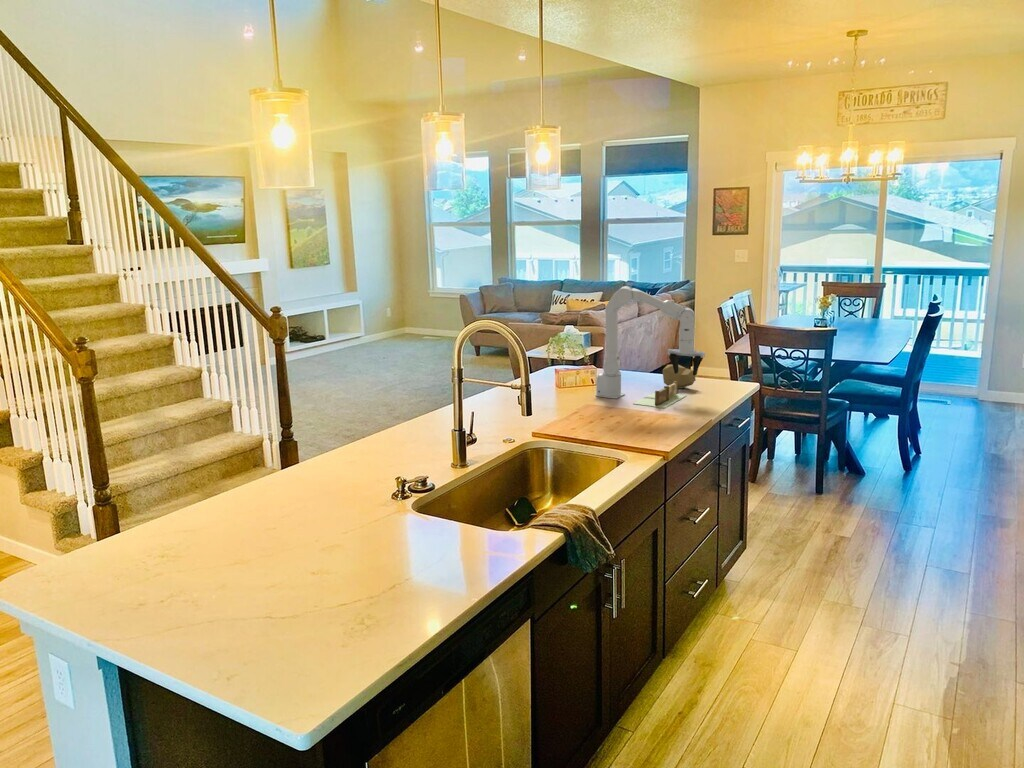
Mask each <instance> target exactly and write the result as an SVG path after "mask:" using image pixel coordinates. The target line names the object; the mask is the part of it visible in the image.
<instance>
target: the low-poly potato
mask: <svg viewBox="0 0 1024 768" xmlns="http://www.w3.org/2000/svg"><path fill="white" fill-rule="evenodd" d="M662 378H663V383H664V385H665V386H669V385H671V384H673V382H674V381H677V382H678V384H677V389H683V388H686V387H690V386H693V384H694V383H695V382H696V381H697V379H696V375H695V376H694V375H693V369H690V368H686V367H684V366H682V365H681V364H678V373H676V374H675V373H674V368H673V365H672V364H667V365H666V366H665V367H664V368H663V369H662Z"/></svg>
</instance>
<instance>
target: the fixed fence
mask: <svg viewBox="0 0 1024 768" xmlns="http://www.w3.org/2000/svg"><path fill="white" fill-rule="evenodd" d="M654 393H655V405H656V406H659V404H660V403H661V402H663V401H665V400H669V386H668V385H664V386H663V388H661V389H659V390H655V391H654Z"/></svg>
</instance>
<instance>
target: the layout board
mask: <svg viewBox="0 0 1024 768" xmlns="http://www.w3.org/2000/svg"><path fill="white" fill-rule="evenodd" d="M686 397H687V395H685V394H678V393H677V394H676V395H674V396H672V397H671V398H669V400H665V401H663V402H661V403H660V404H659V406H656V405H655V392H653V393H651V394H649V395H647V396H644V397H643V398H641V399H639V400H636V402H633V405H636V406H645V407H650V408H651V407H654V408H660V409H666V408H668V407H670V406H671V405H673V404H675V403H678V402H679V401H681V400H682V399H684V398H686Z"/></svg>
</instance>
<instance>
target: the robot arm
mask: <svg viewBox="0 0 1024 768" xmlns="http://www.w3.org/2000/svg"><path fill="white" fill-rule="evenodd" d="M630 302H632V303H638V302H639V303H640V302H642V303H645V304H646V305H649V306H652V307H655V308H657V309H659V311H660V312H661V314H663V315H665V316H667V317H670V318H671V319H673V320H678V321H679V329H678V331H679V334H678V349H677V348H676V349H675V348H674V349H673V348H669V349H667V355H668V359H669V360H670V362H671V365H673V368H674V373H675V374H676V373H678V365H679V362H680V357H681V356H682V357H683V356H687V357H692V365H693V366H692V367H693V368H692V370H693V375H694V376H695V377H696V376H697V374H698V370H699V367H700V365H701V364H702V361H703V359H704V358H705V357H706V351H698V350H695V320H696V317H695V316H696V315H695V311H694V310H693V309H692V308H691V307H687V306H686V305H682V304H681V305H680V304H679V303H677V302H675V300H674V299H670V300H669V299H666V300H662V299H660V298H657V297H655V296H653V295H651V294H649V293H647V292H644V290H643V291H642V290H640V289H638V288H635V287H631V286H629V285H624V286H621V287H620V288H618V290H616V291H615V292H614V293H613V295H612V296H611V298H610V299H609V301H608V302H607V304H606V305H605V356H604V357H605V358H604V359H605V360H604V363H603V364H602V370H603V372H602V373H601V372H600V373H598V374H597V377H596V381H595V382H596V383H595V384H596V385H595V386H596V387H595V388H596V391H595V393H596V394H595V397H600V398H609V399H619V398H621V397H624V396H625V394H626V393H623V392H622V372H621V371H620V369H621V366H622V360H621V359H620V356H619V331H618V330H619V327H618V325H619V323H618V322H619V321H618V320H619V318H618V317H619V316H618V313H619V312H618V311H619V310H621V308H622V307H624V306H626V305H628V304H629V303H630Z"/></svg>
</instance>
